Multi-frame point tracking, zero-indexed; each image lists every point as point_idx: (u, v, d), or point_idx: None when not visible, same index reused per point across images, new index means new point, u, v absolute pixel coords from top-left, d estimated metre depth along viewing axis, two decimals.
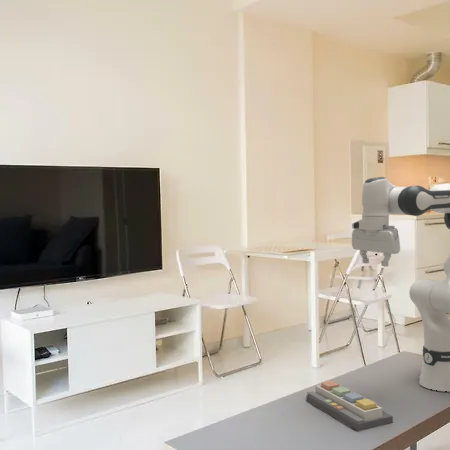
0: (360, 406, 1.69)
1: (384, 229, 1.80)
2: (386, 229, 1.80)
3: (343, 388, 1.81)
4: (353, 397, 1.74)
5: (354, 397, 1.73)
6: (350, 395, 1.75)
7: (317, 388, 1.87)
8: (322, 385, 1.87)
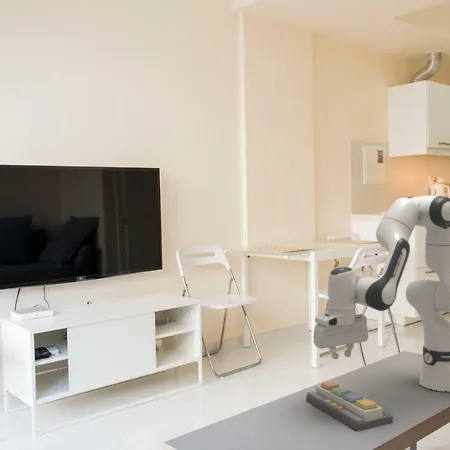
0: (360, 406, 1.69)
1: None
2: (356, 318, 1.81)
3: (343, 388, 1.81)
4: (353, 397, 1.74)
5: (354, 397, 1.73)
6: (350, 395, 1.75)
7: (317, 388, 1.87)
8: (322, 385, 1.87)
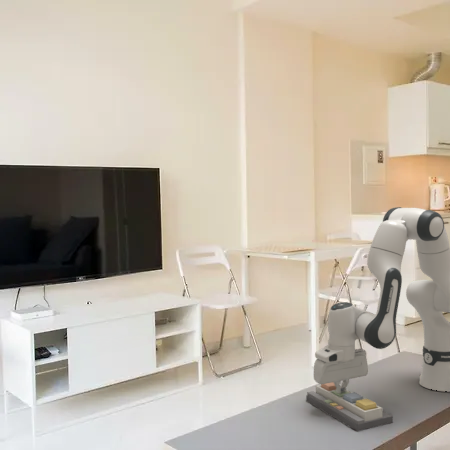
0: (360, 406, 1.69)
1: None
2: (355, 353, 1.82)
3: None
4: (353, 397, 1.74)
5: (354, 397, 1.73)
6: (350, 395, 1.75)
7: (317, 388, 1.87)
8: (322, 385, 1.87)
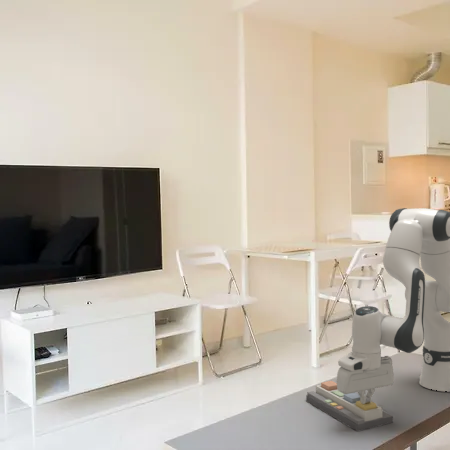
0: (360, 407, 1.69)
1: None
2: (381, 361, 1.71)
3: None
4: (353, 397, 1.74)
5: (354, 397, 1.73)
6: (350, 395, 1.75)
7: (317, 388, 1.87)
8: (322, 385, 1.87)
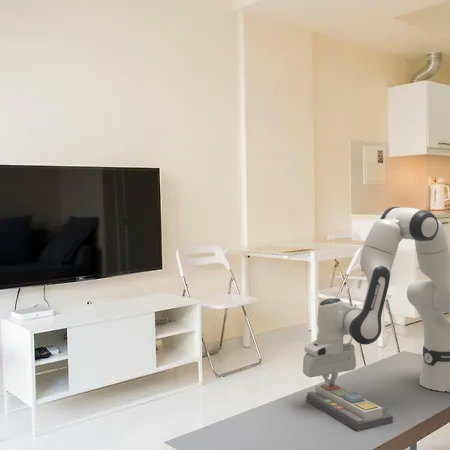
0: None
1: None
2: (344, 348, 1.88)
3: (343, 391, 1.82)
4: (353, 397, 1.74)
5: (354, 397, 1.73)
6: (350, 395, 1.75)
7: (317, 388, 1.87)
8: (322, 387, 1.87)
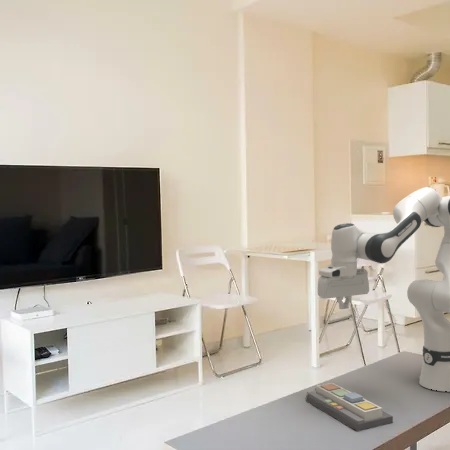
0: None
1: None
2: (357, 272, 1.92)
3: (343, 391, 1.82)
4: (353, 397, 1.74)
5: (354, 397, 1.73)
6: (350, 395, 1.75)
7: (317, 388, 1.87)
8: None
